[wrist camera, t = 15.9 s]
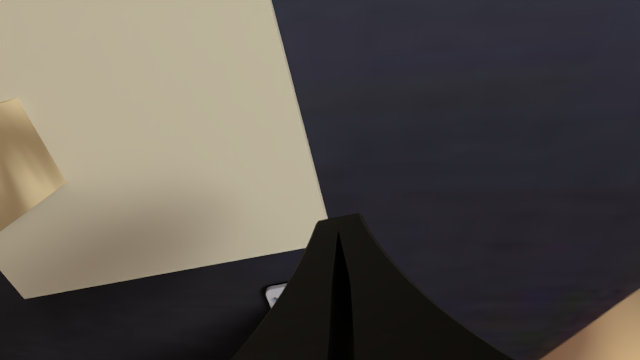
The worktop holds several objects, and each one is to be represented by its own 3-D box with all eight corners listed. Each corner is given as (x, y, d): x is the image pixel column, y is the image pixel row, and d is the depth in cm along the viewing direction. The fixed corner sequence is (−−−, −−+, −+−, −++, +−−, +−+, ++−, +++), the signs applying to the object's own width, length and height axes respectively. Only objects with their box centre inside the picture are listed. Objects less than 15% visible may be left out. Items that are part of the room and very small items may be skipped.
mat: (332, 236, 23) (332, 242, 22) (30, 292, 25) (24, 298, 24) (244, -104, 15) (241, -108, 14) (-192, 23, 17) (-209, 24, 16)
